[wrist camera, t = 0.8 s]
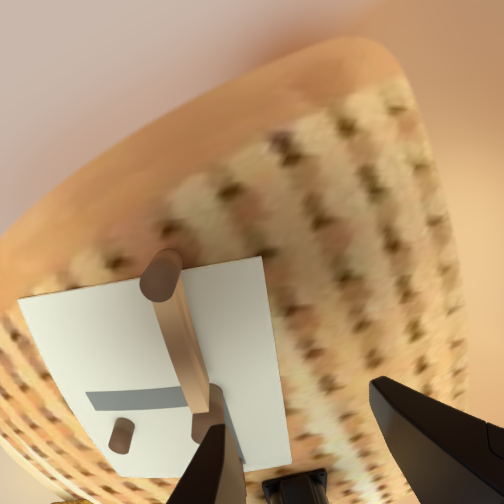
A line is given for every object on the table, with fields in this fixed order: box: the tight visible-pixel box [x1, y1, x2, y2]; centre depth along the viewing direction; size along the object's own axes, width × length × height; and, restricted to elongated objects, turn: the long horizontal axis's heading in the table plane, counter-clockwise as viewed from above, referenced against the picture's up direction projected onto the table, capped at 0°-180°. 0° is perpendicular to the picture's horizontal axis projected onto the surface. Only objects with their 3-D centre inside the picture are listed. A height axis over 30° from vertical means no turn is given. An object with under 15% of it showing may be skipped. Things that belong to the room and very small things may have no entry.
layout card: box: [18, 256, 292, 478], centre depth 20 cm, size 20×17×1 cm
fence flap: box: [139, 249, 209, 414], centre depth 15 cm, size 9×2×3 cm, turn 9°
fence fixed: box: [108, 383, 247, 496], centre depth 18 cm, size 11×9×4 cm
